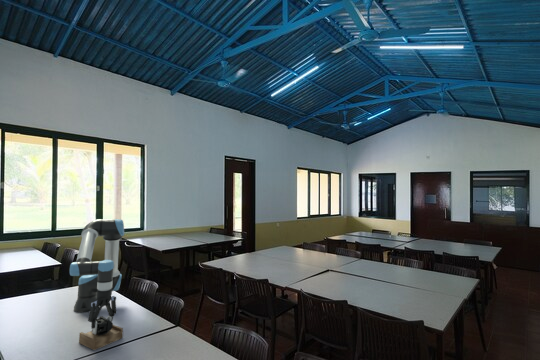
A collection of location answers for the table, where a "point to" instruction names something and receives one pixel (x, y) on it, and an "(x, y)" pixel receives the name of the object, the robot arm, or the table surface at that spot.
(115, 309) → the robot arm
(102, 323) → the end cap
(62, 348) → the table surface
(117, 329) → the pedestal
